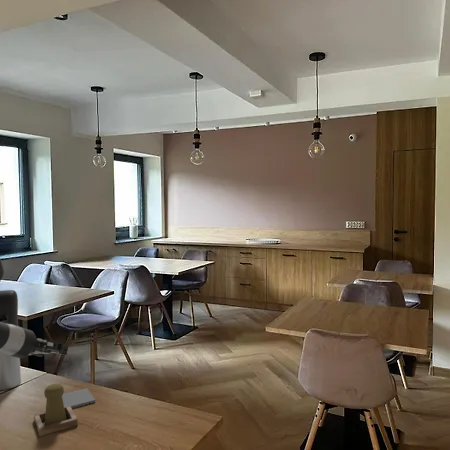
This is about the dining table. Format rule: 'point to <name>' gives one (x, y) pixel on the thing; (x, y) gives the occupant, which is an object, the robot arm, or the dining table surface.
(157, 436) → the dining table surface
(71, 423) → the wooden square frame
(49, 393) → the cork
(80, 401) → the slate tile
